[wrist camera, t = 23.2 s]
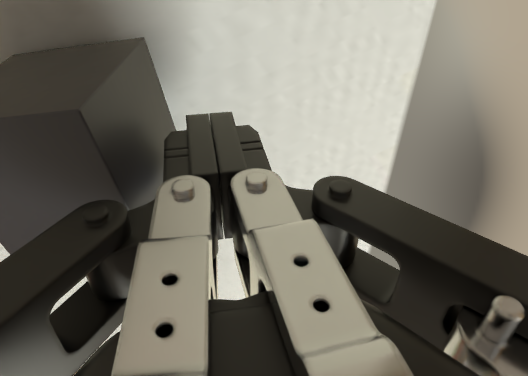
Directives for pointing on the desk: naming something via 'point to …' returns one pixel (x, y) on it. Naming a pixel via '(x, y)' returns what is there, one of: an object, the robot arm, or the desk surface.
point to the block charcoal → (78, 133)
